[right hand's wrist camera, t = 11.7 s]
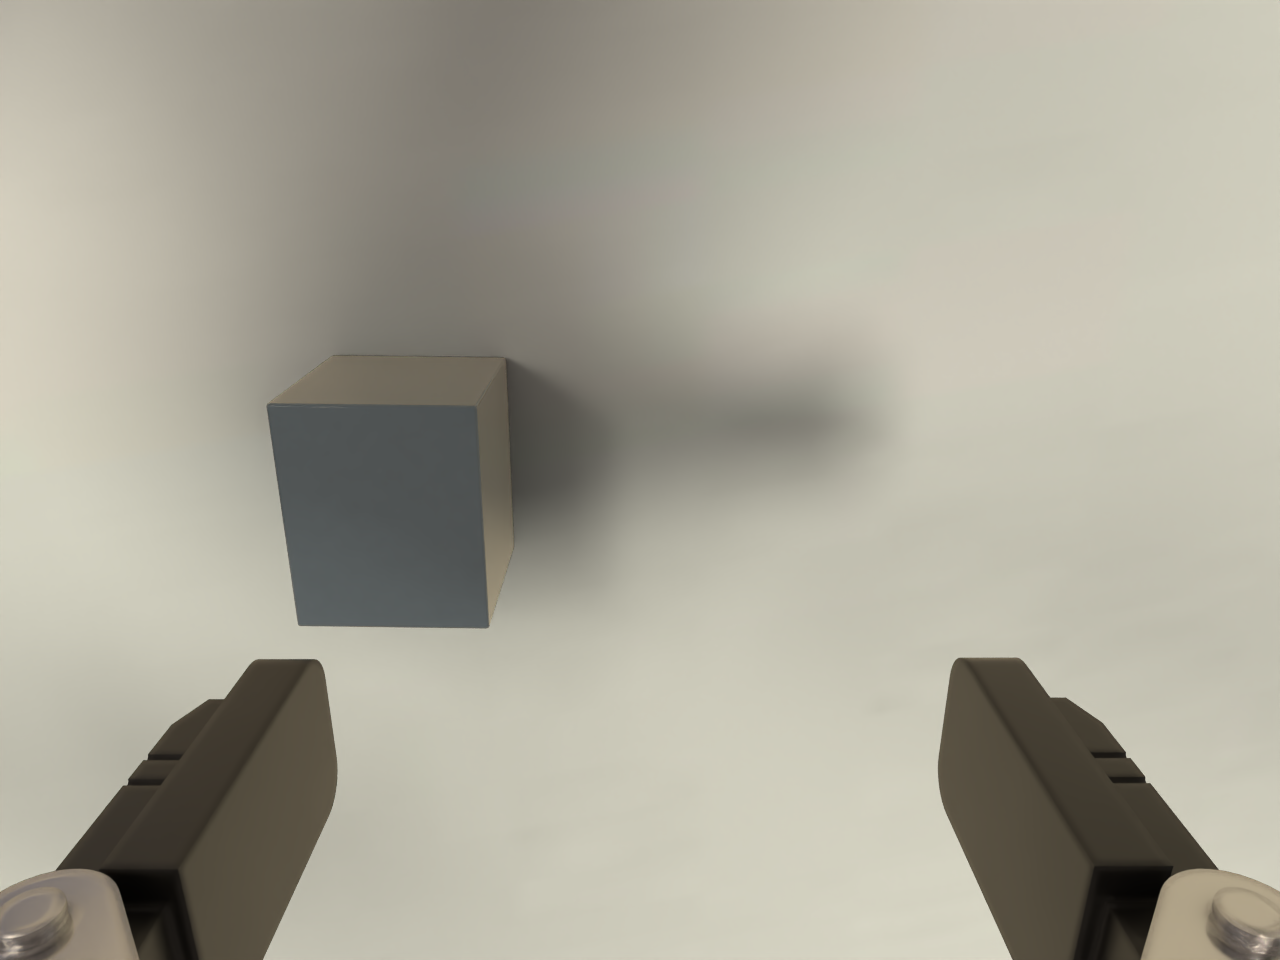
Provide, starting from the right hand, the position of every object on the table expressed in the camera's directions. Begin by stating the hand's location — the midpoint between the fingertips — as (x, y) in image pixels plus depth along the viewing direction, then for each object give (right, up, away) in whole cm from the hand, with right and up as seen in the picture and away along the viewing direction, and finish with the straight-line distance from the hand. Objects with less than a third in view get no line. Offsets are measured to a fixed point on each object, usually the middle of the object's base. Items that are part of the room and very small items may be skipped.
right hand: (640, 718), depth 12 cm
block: (-5, +4, +11) cm, 13 cm away
